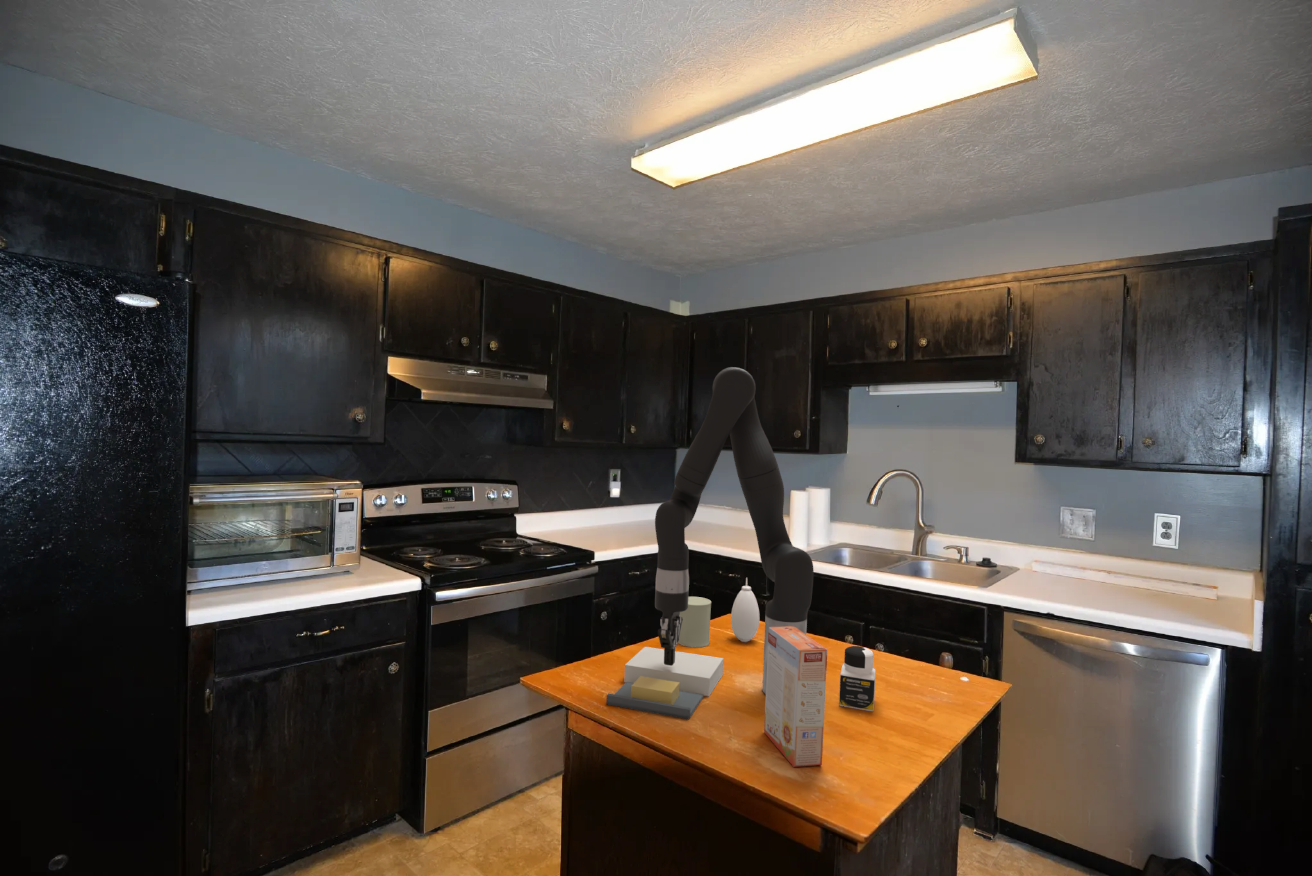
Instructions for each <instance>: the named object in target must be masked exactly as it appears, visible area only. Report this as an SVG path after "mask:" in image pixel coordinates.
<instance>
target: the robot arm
mask: <svg viewBox="0 0 1312 876" xmlns="http://www.w3.org/2000/svg"><path fill="white" fill-rule="evenodd" d="M711 395H712V396H711V399H710V402H709V406H708V409H707V412H706V414H705V417H704V420H703V422H702V425H701V427H700V429H699V430H698V432H697V434H696V435H695V437H694V439H693V441H692V442H691V444H690V446H689V448H688V450H687V451H686V454H685V456H684V457H683V459H682V462H681V464H680V465H679V469H678V470H677V473H676V475H675V478H674V488H673V491H672V494H671V496H670V497H669V500H667V501H664V502H662V503H661V504H660V505H659V506H658V508H657V509H656V513H655V519H654V527H655V528H654V529H655V536H656V543H657V549H658V551H657V568H656V573H655V574H656V575H655V592H654V593H655V594H654V607H655V609H656V610H657V611H661V612H662V617H660V624H659V625H660V627H661V628H659V629H658V630H657V635H658V639H659V644H660V647H661V648H660V649H664V664H665V665H670V666H672V665H673V664H674V663H675V651H676V647H677V646H678V643H677V642H678V641H679V636H680V630H681V625H682V621H683V618H682V617H681V616H680V612H683V611H685V610H687V608H688V597H689V588H690V587H689V585H690V574H689V557H690V556H689V554H690V553H689V546H688V544H687V543H686V541H685V540H686V539H685V538H686V536H685V535H686V532H685V531H686V530H685V529H686V528H687V527H689V525H690V524H691V522H692V521H693V519H694V518H695V515H696V513H697V510H698V508H699V504H700V501H701V497H702V494H703V492H704V490H705V488H706V486H707V484H708V482H709V479H710V478H711V476H712V474H713V471H714V468H715V466H716V465H717V462H718V460H719V457H720V455H721V452H722V450H723V448H724V447H725V446H724V445H725V443H726V441H727V439H728V438H729V437H730V443H731V448H732V450H731V451H732V454H733V455H732V456H733V459H734V460H733V461H734V466H735V469H736V473H737V476H738V480H739V483H740V487H741V490H742V491H741V492H742V494H743V496H744V499H745V503H746V505H747V506H746V507H747V509H748V513H749V515H750V518H751V521H752V525H753V528H754V530H755V531H754V532H755V536H756V540H757V545H758V550H759V555H760V561H761V566H762V567H761V568H762V569H763V572H764V574H765V575H766V577H767V578H768V579H769V580H771V581H772V582H774V588H773V590H774V591H773V597H772V599H770V600H768V601H767V602H766V604H765V619H764V620H765V621H764V638H763V639H764V642H763V664H762V665H763V666H762V683H761V684H762V692H763V694H765V695H766V677H767V656H768V633H769V627H786V626H792V627H796V628H797V629H799V630H800V631H801V632H803V633H804V634H806V635H807V630H808V629H807V628H808V627H807V626H808V625H807V624H808V613H809V612H808V611H809V610H810V608H811V606H812V605H811V604H812V596H813V587H814V574H815V572H814V570H815V569H814V563H813V560H812V558H811V556H810V555H809V554H808V552H807V551H805V550H804V549H801V548H799V547H796V546H794V545H793V544H792V542H791V538H790V536H789V534H788V530H787V527H786V523H785V519H784V505H785V487H784V482H783V479H782V475H781V471H780V467H779V465H778V461H777V459H776V458H777V457H776V456H775V454H774V451H773V448H772V446H771V444H770V442H769V439H768V437H767V435H766V434H765V431H764V429H763V426H762V424H761V421H760V418H759V414H758V413H759V412H758V408H757V404H756V399H755V398H756V397H755V395H756V381H755V379H754V378H753V375H751V373H750V372H749V371H747V370H745V369H743V368H740V367H735V366H734V367H733V366H730V367H726V368H724V369H722V370H721V371H719V372H718V373H717V375H715V378H714V379H713V381H712V394H711Z"/></svg>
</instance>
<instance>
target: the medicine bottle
mask: <svg viewBox="0 0 1312 876" xmlns="http://www.w3.org/2000/svg"><path fill="white" fill-rule="evenodd" d="M876 671H877V670H876V668H874V652H873V651H872V650H871V649H869V648H867V647H864V646H859V645H852V646H847V647H846V648H845V649H844V663H843V664H842V667H841V669H840V676H839V693H838V694H839V699H838V705H839V706H840V707H843V706H844V707H845V708H850V709H855V710H861V711H867V712H874V710H875V693H876V673H877V672H876Z"/></svg>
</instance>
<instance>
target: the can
mask: <svg viewBox="0 0 1312 876" xmlns="http://www.w3.org/2000/svg"><path fill="white" fill-rule="evenodd" d="M711 608H712V601H711V600H710V599H708V598H705V597H699V596H688V608H687V610H685V611H683V612H680V616H681V617H682V618H683V621H682V625H681V630H680V636H679V641H678V642H677V644H678V645H681V646H683V647H688V648H704V647H707V646H709V645H710V643H711V641H710V635H711V634H710V633H711V631H710V630H711V629H710V628H711Z"/></svg>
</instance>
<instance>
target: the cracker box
mask: <svg viewBox="0 0 1312 876" xmlns="http://www.w3.org/2000/svg"><path fill="white" fill-rule="evenodd" d="M827 665H828V648H826V647H825V646H823V645H822V644H820V643H819V642H817V641H816V640H815V639H813V638H812V637H810V636H808V635H807V633H806V634H804V633H803V632H801V631H800V630H799V629H797V628H796V627H792V626H786V627H769V633H768V656H767V677H766V694H765V702H764V703H765V704H764V721H763V723H764V725H763V732H764V733H763V734H765V735H766V736H767V737H768V738H769V740H770V741H771V742H772V744H773V745H774V746H775V747H776V749H778V751H779V752H780V753H781V755H783V757H784V758H786V760H787V761H788V762H789V763H790V765H791V766H792V767H793V768H796V767H811V766H813V767H814V766H822V765H823V751H824V750H823V748H824V731H825V711H826V710H825V708H826V704H825V703H826V686H827V685H826V684H827V667H828V666H827Z"/></svg>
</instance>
